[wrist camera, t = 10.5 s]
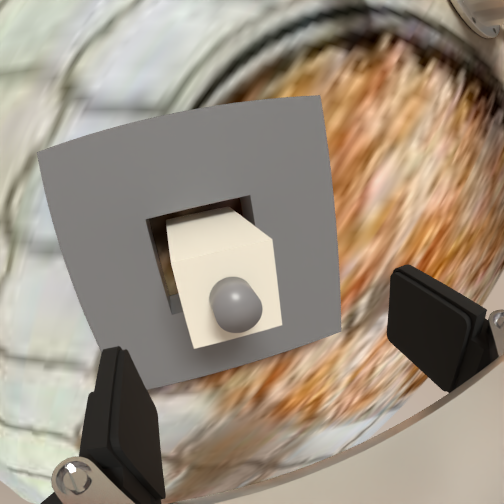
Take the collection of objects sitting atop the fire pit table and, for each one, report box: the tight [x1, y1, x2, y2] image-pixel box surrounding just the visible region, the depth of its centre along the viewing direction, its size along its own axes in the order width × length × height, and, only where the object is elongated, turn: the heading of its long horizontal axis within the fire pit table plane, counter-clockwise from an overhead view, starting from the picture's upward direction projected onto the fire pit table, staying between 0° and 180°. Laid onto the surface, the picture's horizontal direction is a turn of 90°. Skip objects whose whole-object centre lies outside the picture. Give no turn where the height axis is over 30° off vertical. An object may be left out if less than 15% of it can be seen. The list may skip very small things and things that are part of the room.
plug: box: [166, 206, 282, 349], centre depth 18 cm, size 4×4×10 cm
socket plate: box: [37, 95, 341, 390], centre depth 21 cm, size 18×18×3 cm
